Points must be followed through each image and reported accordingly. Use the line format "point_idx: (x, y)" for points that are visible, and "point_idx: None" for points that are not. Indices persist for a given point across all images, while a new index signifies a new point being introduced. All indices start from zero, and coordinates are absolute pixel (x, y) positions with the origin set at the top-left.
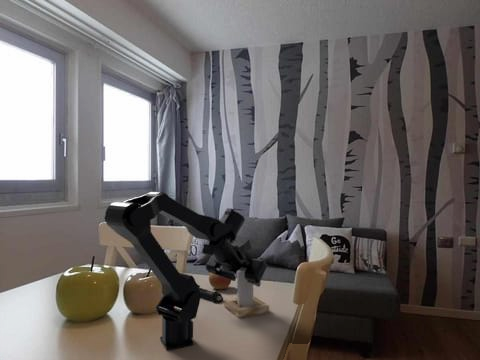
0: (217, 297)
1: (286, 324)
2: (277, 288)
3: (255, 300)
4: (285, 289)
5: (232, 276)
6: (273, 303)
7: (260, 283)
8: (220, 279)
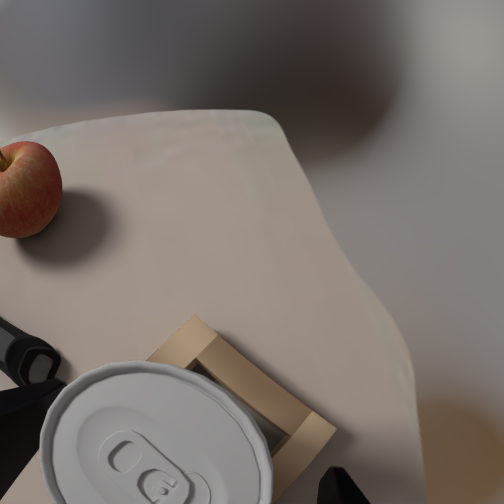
0: (32, 376)
1: (423, 493)
2: (249, 150)
3: (238, 387)
4: (280, 152)
5: (36, 424)
6: (300, 308)
7: (346, 477)
8: (11, 218)
